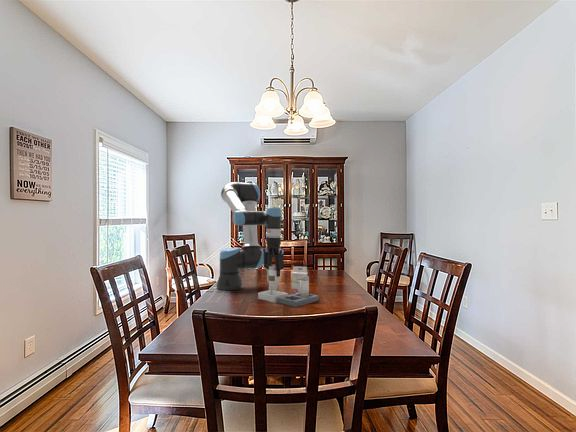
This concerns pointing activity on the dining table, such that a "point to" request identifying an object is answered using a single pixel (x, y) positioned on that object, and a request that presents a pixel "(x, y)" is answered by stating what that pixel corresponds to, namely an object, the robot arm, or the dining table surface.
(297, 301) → the fuse panel
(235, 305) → the dining table surface
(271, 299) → the parts tray
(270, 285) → the fuse
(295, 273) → the grey stepped block
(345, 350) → the dining table surface
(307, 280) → the fuse
